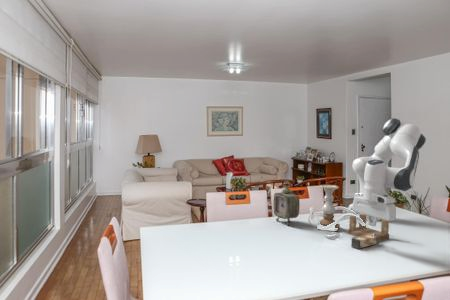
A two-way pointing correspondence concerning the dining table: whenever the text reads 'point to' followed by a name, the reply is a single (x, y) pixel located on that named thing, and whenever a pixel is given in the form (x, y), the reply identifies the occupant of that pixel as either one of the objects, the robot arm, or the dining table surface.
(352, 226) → the stool seat
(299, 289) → the dining table surface
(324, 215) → the candle holder
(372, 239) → the hinged leg
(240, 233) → the dining table surface
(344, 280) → the dining table surface
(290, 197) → the tabletop clock
